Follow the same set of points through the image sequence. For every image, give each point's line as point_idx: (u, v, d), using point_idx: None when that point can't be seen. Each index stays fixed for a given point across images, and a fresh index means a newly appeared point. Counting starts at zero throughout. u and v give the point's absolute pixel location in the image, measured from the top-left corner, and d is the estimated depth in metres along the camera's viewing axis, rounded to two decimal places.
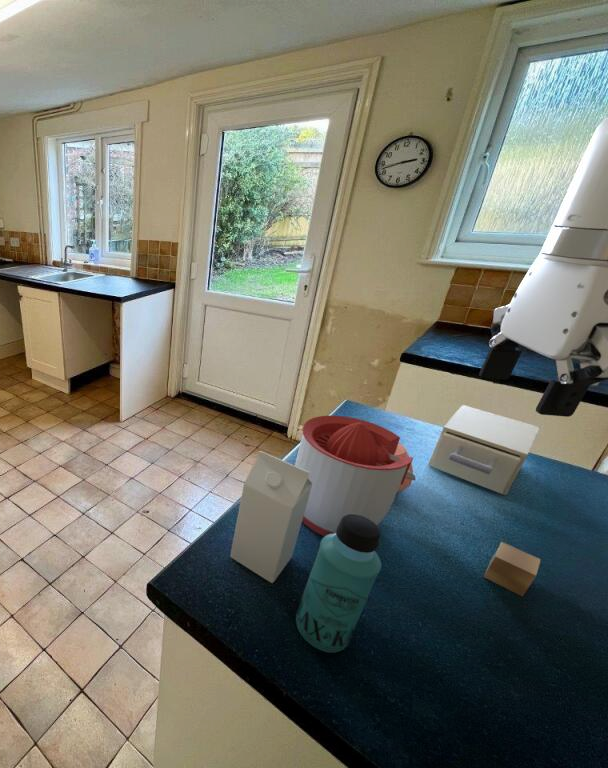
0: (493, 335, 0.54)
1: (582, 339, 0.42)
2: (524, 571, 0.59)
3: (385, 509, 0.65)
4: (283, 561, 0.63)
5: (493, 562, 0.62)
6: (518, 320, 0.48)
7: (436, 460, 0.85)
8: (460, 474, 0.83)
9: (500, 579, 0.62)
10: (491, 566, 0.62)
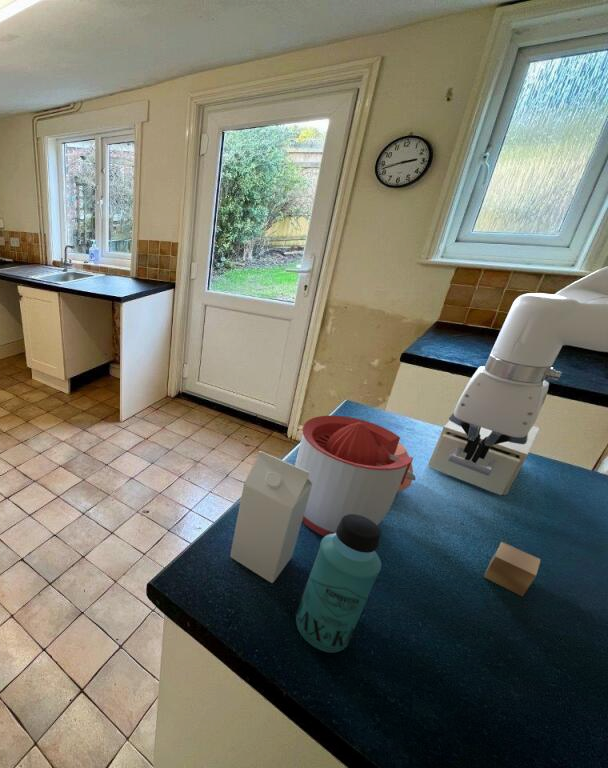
0: (466, 431, 0.76)
1: (532, 425, 0.69)
2: (524, 571, 0.59)
3: (385, 509, 0.65)
4: (283, 561, 0.63)
5: (493, 562, 0.62)
6: (476, 412, 0.73)
7: (435, 461, 0.85)
8: (459, 475, 0.83)
9: (500, 579, 0.62)
10: (491, 566, 0.62)
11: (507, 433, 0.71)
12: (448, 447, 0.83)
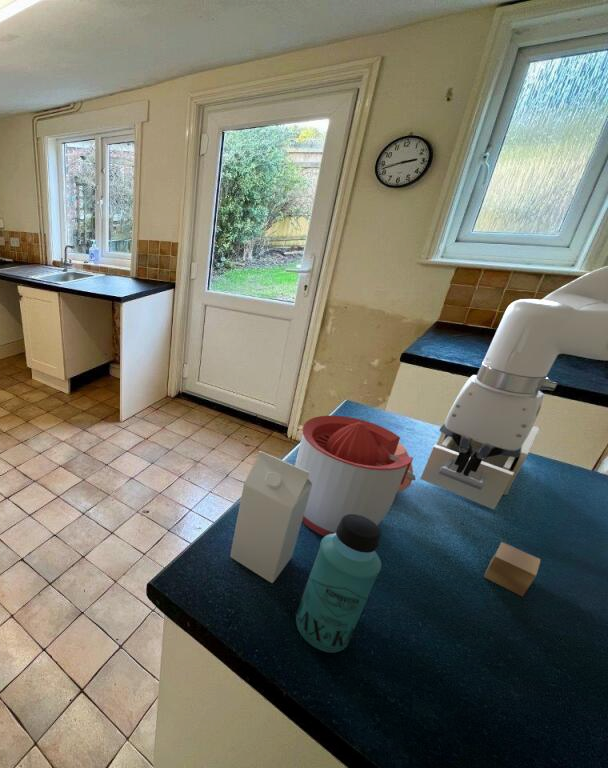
0: (457, 442, 0.73)
1: None
2: (524, 571, 0.59)
3: (385, 509, 0.65)
4: (283, 561, 0.63)
5: (493, 562, 0.62)
6: (468, 424, 0.70)
7: (426, 473, 0.82)
8: (451, 488, 0.79)
9: (500, 579, 0.62)
10: (491, 566, 0.62)
11: (500, 446, 0.68)
12: (439, 458, 0.79)
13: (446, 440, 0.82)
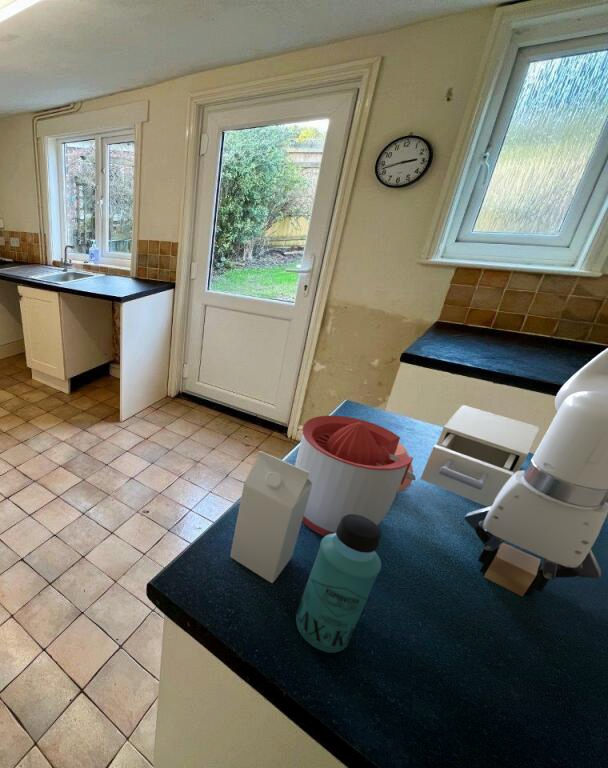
0: (481, 538, 0.63)
1: (586, 555, 0.54)
2: (524, 571, 0.59)
3: (385, 509, 0.65)
4: (283, 561, 0.63)
5: (493, 562, 0.62)
6: (513, 530, 0.59)
7: (426, 473, 0.82)
8: (451, 488, 0.79)
9: (500, 579, 0.62)
10: (491, 566, 0.62)
11: (553, 560, 0.56)
12: (439, 459, 0.79)
13: (446, 440, 0.82)
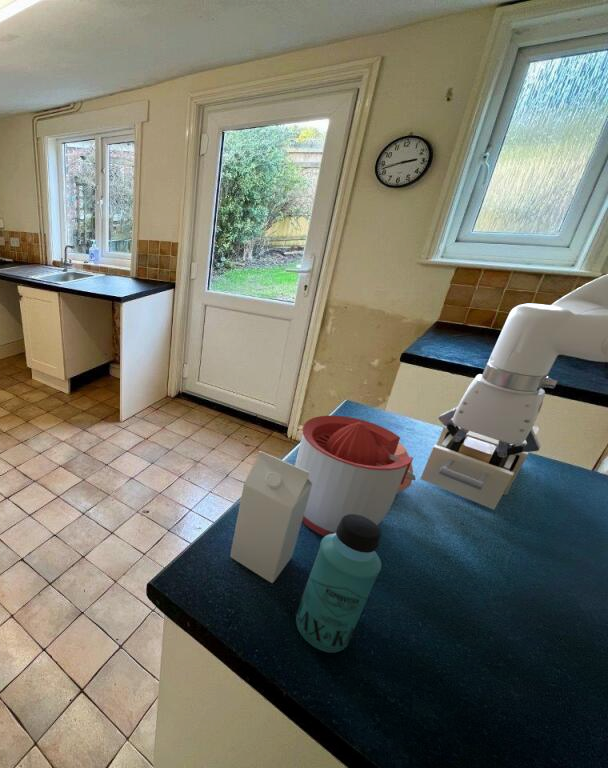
0: (451, 432, 0.79)
1: (528, 433, 0.71)
2: (483, 453, 0.75)
3: (385, 509, 0.65)
4: (283, 561, 0.63)
5: (460, 449, 0.78)
6: (475, 420, 0.75)
7: (426, 473, 0.82)
8: (451, 488, 0.79)
9: None
10: None
11: (504, 440, 0.73)
12: (439, 459, 0.79)
13: (446, 440, 0.82)
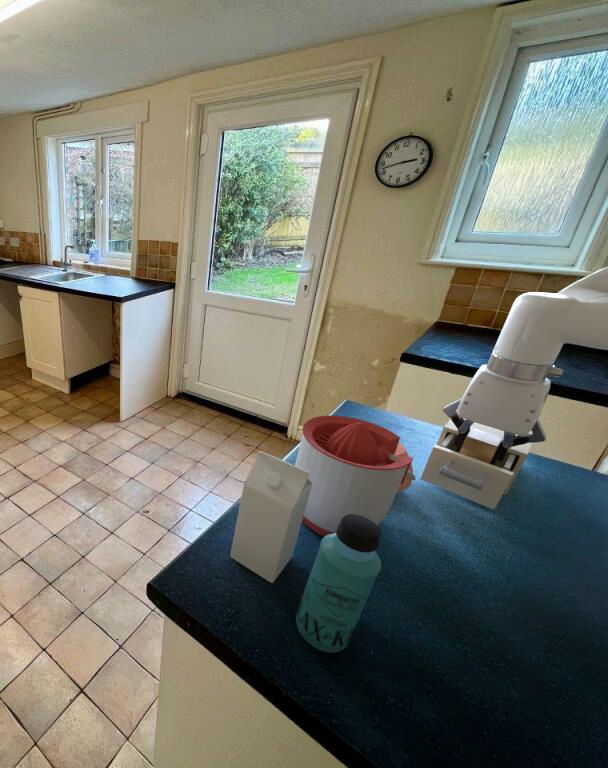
0: (456, 424, 0.79)
1: (534, 423, 0.70)
2: (488, 444, 0.74)
3: (385, 509, 0.65)
4: (283, 561, 0.63)
5: (465, 441, 0.77)
6: (479, 411, 0.74)
7: (426, 473, 0.82)
8: (451, 488, 0.79)
9: (471, 455, 0.77)
10: (463, 445, 0.77)
11: (510, 431, 0.72)
12: (439, 459, 0.79)
13: (446, 440, 0.82)
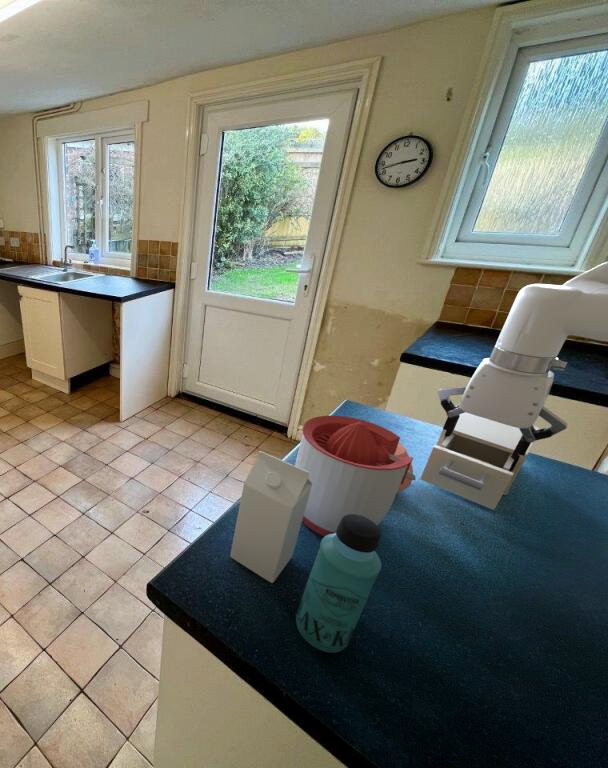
0: (445, 408, 0.79)
1: (537, 416, 0.69)
2: None
3: (385, 509, 0.65)
4: (283, 561, 0.63)
5: None
6: (482, 404, 0.73)
7: (426, 473, 0.82)
8: (451, 488, 0.79)
9: None
10: None
11: (512, 424, 0.71)
12: (439, 459, 0.79)
13: (446, 440, 0.82)
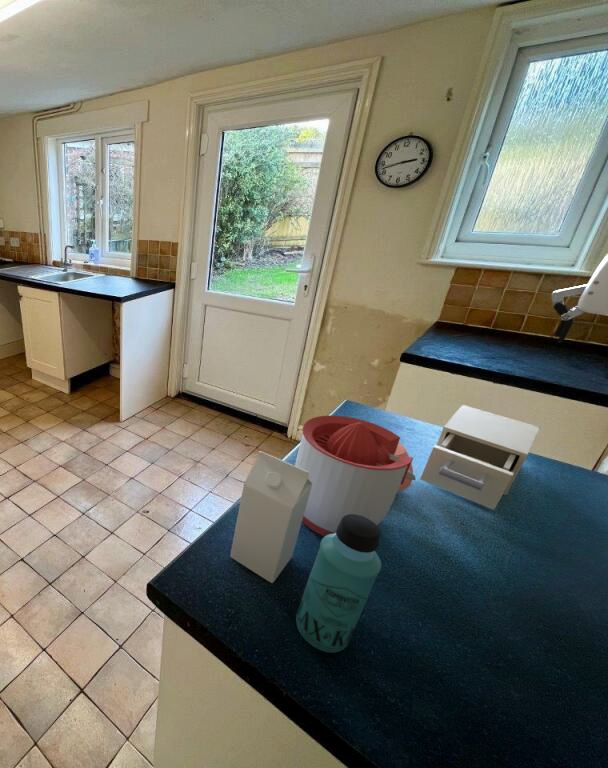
0: (559, 311, 0.74)
1: None
2: None
3: (385, 509, 0.65)
4: (283, 561, 0.63)
5: None
6: None
7: (426, 473, 0.82)
8: (451, 488, 0.79)
9: None
10: None
11: None
12: (439, 459, 0.79)
13: (446, 440, 0.82)
